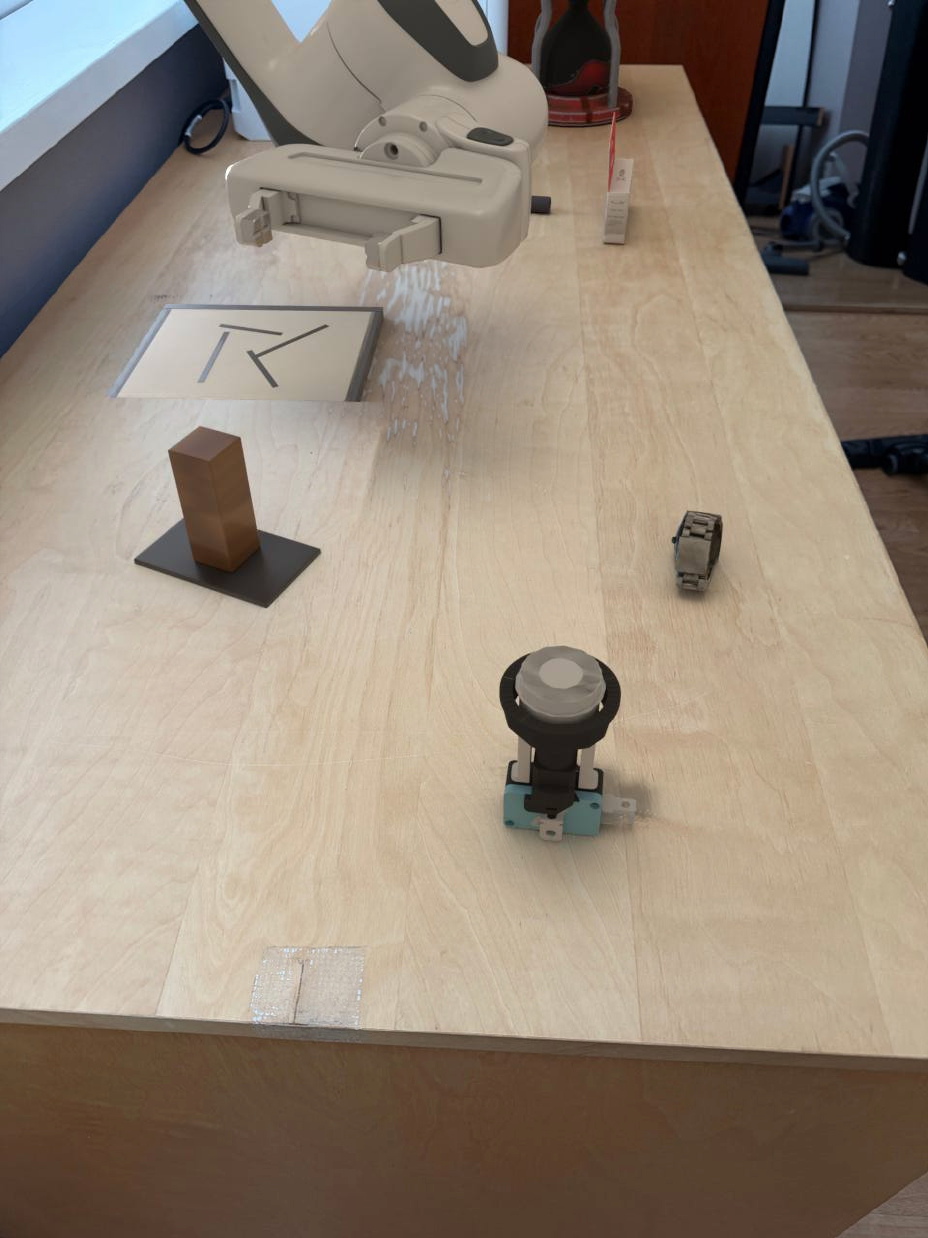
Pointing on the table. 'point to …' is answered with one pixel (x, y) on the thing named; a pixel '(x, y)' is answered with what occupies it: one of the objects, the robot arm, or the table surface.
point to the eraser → (222, 526)
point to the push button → (559, 742)
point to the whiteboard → (253, 353)
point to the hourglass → (580, 65)
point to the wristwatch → (697, 549)
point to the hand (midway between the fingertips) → (308, 245)
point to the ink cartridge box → (617, 194)
